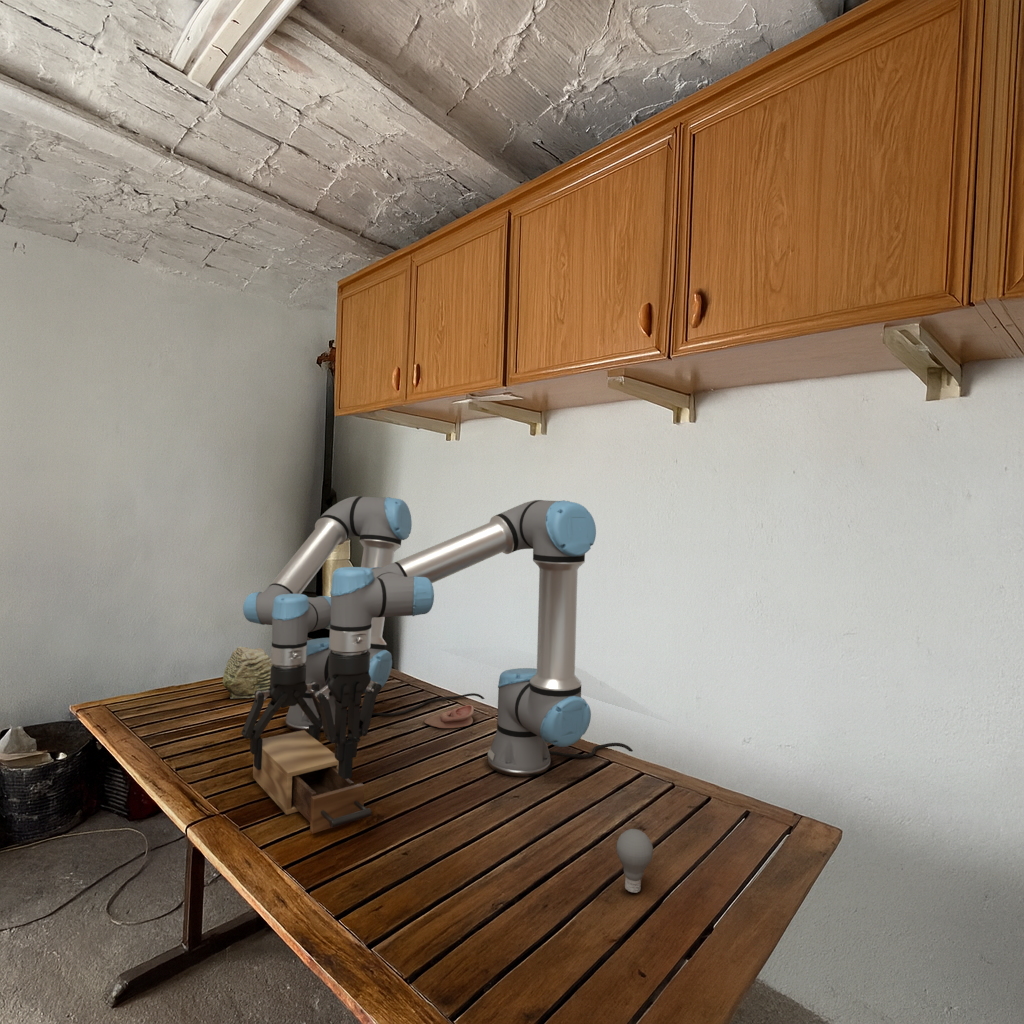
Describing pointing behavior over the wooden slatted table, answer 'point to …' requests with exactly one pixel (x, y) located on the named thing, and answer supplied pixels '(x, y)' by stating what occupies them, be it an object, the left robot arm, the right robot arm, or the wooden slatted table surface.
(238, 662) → the fossil
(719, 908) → the wooden slatted table surface
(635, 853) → the light bulb
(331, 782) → the drawer
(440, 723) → the anatomical model
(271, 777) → the cabinet
